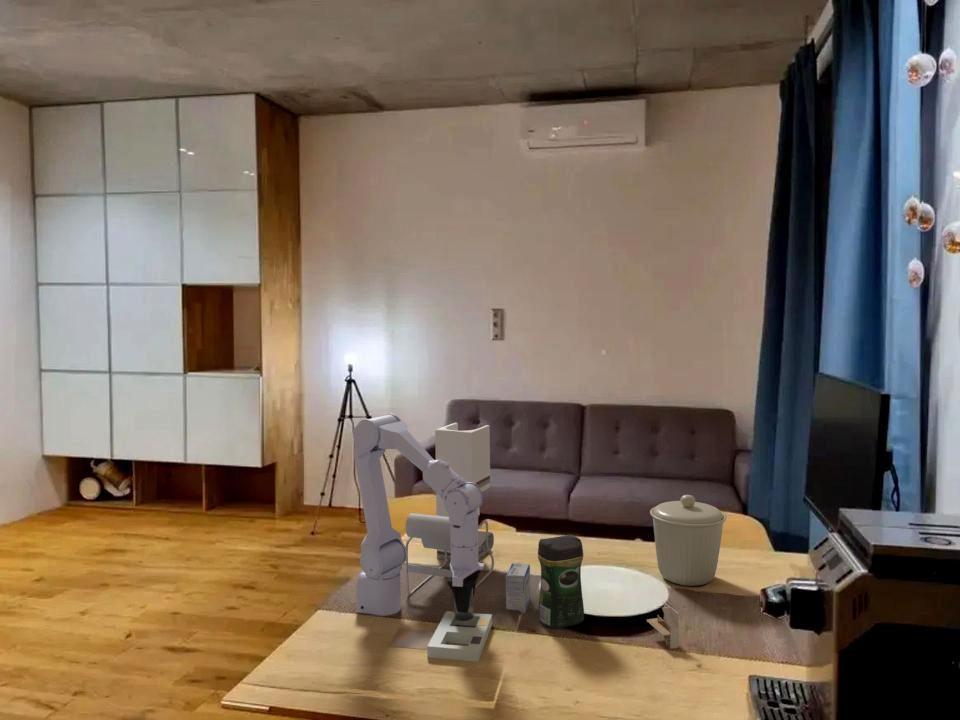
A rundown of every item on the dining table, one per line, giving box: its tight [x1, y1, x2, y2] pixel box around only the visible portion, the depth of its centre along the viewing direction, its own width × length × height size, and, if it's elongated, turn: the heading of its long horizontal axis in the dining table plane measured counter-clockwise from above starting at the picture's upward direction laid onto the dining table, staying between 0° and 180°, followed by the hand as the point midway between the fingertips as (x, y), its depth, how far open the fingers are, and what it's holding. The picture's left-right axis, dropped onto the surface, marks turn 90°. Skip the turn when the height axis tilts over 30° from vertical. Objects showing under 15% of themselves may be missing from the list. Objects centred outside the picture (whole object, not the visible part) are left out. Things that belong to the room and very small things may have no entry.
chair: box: [405, 512, 495, 596], centre depth 180 cm, size 13×25×20 cm, turn 159°
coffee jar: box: [537, 533, 585, 629], centre depth 158 cm, size 10×8×19 cm
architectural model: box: [646, 602, 680, 650], centre depth 149 cm, size 3×7×7 cm, turn 16°
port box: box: [426, 610, 493, 663], centre depth 149 cm, size 10×16×3 cm, turn 170°
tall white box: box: [434, 422, 491, 561], centre depth 199 cm, size 11×11×35 cm
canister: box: [649, 494, 727, 587], centre depth 181 cm, size 18×18×21 cm
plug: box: [453, 588, 474, 621], centre depth 152 cm, size 4×4×7 cm
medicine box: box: [505, 562, 531, 615], centre depth 167 cm, size 8×4×9 cm, turn 168°
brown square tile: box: [387, 628, 436, 651], centre depth 150 cm, size 8×8×1 cm
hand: (465, 607), depth 152 cm, fingers closed on plug, 4 cm apart
